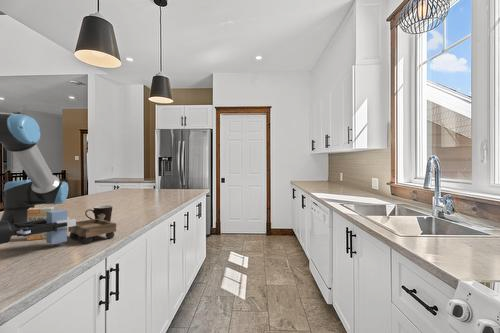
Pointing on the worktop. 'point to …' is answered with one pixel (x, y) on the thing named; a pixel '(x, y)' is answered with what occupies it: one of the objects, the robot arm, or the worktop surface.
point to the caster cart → (92, 229)
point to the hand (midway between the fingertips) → (72, 221)
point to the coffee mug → (102, 212)
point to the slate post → (60, 233)
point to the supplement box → (35, 215)
